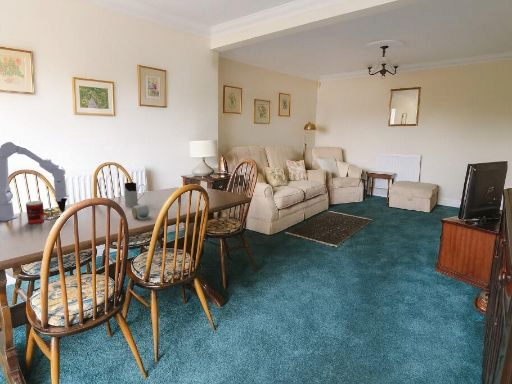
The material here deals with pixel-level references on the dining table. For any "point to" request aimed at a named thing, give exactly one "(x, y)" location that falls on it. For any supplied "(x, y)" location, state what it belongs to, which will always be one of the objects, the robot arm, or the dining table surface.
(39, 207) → the canned food
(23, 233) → the dining table surface
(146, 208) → the ceramic mug
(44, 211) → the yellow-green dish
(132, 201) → the glass holder
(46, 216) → the cap plate
